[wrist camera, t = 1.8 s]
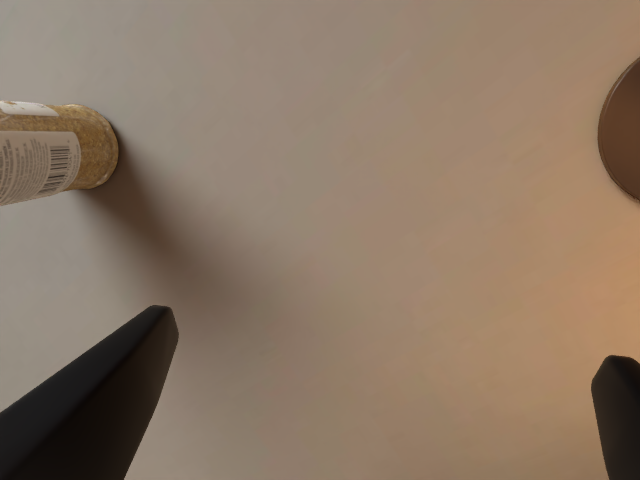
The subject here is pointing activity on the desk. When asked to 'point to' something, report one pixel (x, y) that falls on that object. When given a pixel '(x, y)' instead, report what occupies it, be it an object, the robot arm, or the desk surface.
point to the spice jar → (52, 150)
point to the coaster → (622, 130)
